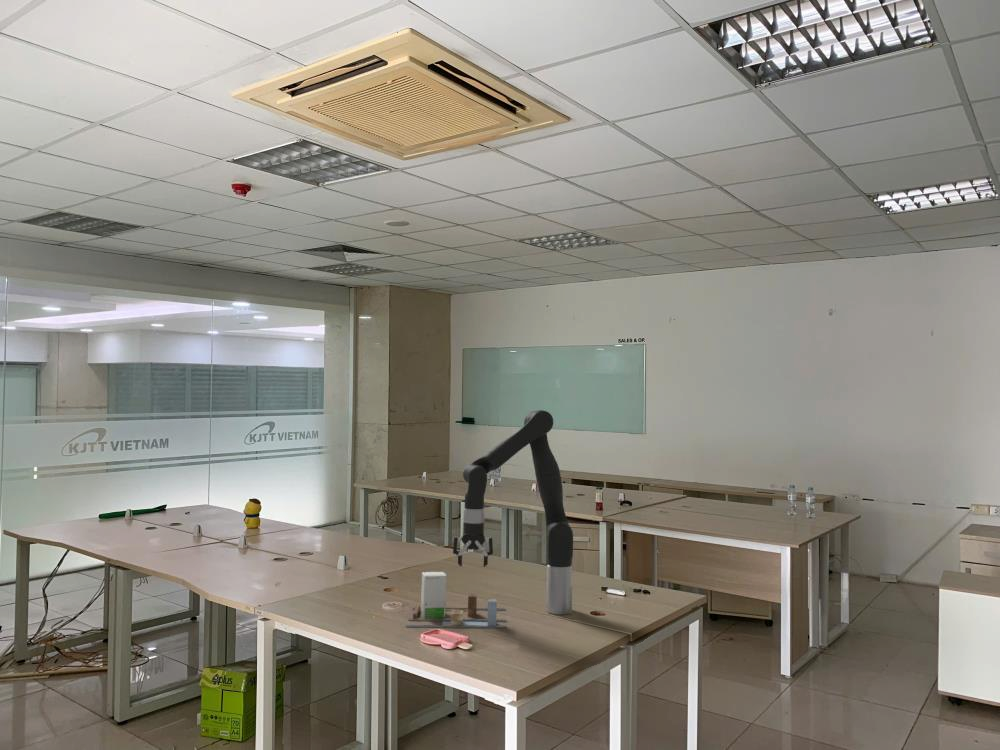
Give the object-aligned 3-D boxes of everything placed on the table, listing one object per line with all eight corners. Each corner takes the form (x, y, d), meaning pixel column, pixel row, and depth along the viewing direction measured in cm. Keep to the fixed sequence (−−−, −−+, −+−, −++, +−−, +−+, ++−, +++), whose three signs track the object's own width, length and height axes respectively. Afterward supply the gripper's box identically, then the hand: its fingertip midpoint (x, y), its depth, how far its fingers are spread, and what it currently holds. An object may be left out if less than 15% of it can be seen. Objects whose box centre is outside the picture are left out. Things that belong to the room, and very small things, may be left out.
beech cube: (462, 622, 241) (463, 610, 241) (462, 625, 237) (462, 613, 237) (451, 622, 241) (451, 610, 241) (450, 625, 237) (450, 613, 237)
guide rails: (505, 612, 257) (505, 608, 257) (506, 631, 236) (506, 626, 236) (412, 611, 257) (412, 606, 257) (405, 630, 235) (405, 625, 235)
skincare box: (422, 621, 245) (423, 576, 246) (419, 615, 251) (420, 571, 252) (446, 619, 247) (447, 575, 248) (442, 614, 254) (443, 570, 254)
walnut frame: (476, 613, 256) (476, 590, 256) (476, 623, 244) (476, 599, 244) (416, 612, 255) (416, 590, 256) (412, 622, 243) (413, 599, 244)
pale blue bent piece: (496, 624, 242) (496, 598, 242) (496, 629, 237) (496, 602, 237) (442, 624, 242) (443, 598, 242) (441, 629, 237) (442, 602, 237)
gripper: (493, 519, 255) (492, 564, 254) (454, 518, 255) (453, 563, 254) (493, 523, 248) (492, 569, 247) (453, 522, 248) (452, 568, 247)
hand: (472, 566), depth 251 cm, fingers open, 8 cm apart
